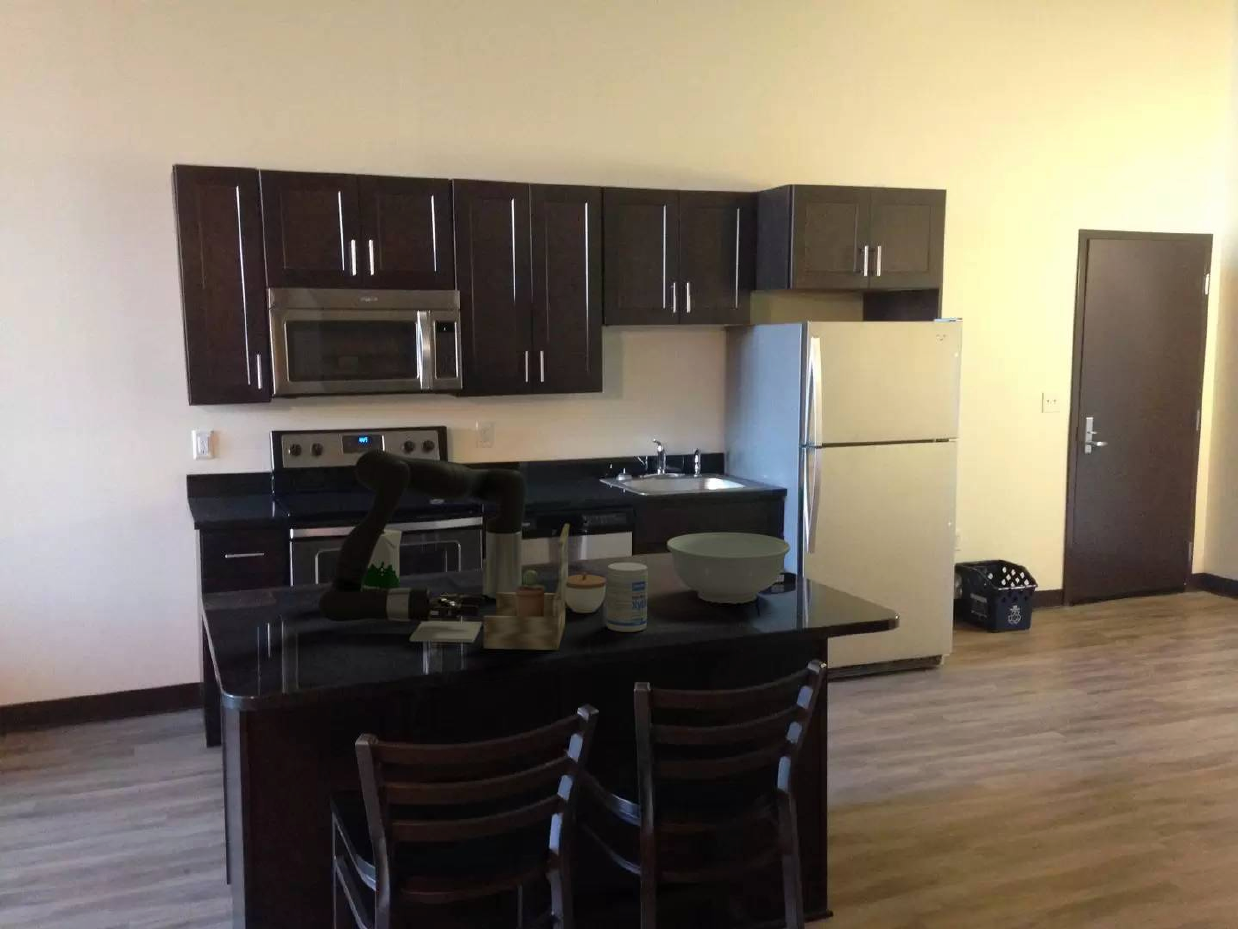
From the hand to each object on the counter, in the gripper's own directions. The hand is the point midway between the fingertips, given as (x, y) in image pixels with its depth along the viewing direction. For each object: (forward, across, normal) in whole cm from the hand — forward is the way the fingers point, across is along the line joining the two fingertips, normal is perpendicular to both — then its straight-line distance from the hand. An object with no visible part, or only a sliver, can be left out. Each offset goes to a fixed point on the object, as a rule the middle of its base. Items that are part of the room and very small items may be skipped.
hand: (481, 606), depth 240 cm
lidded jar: (+22, +23, +6) cm, 33 cm away
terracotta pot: (+11, 0, +6) cm, 13 cm away
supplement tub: (+33, +8, +6) cm, 35 cm away
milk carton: (-29, +28, +7) cm, 41 cm away
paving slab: (-8, 0, +6) cm, 10 cm away
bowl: (+59, +39, +6) cm, 71 cm away
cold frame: (+10, 0, +6) cm, 12 cm away
